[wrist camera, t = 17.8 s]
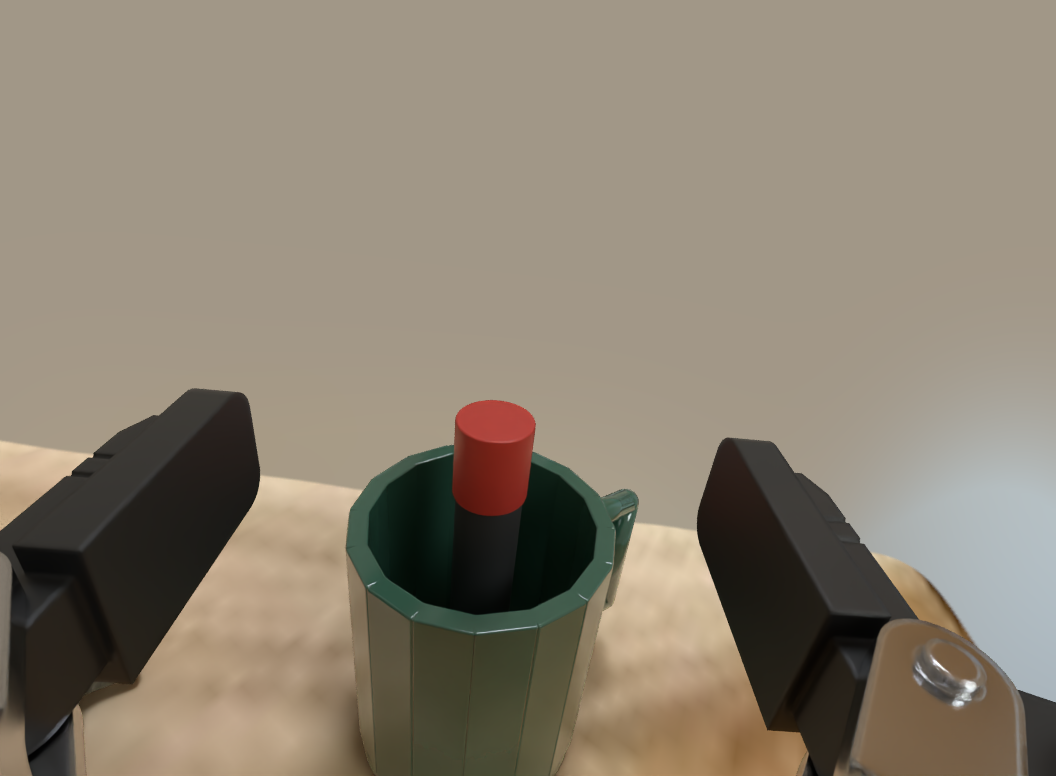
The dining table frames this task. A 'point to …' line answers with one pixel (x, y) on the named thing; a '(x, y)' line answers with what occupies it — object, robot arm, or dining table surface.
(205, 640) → the dining table surface
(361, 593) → the mug
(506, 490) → the marker
